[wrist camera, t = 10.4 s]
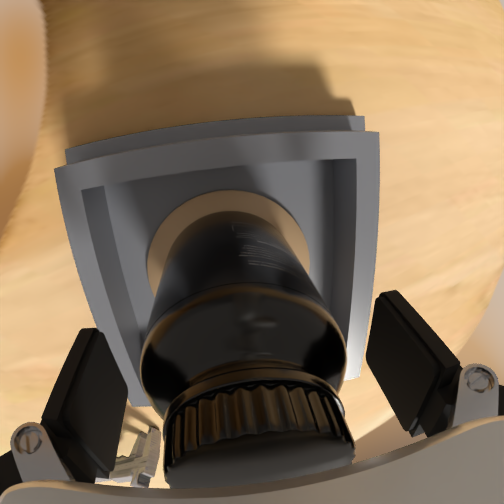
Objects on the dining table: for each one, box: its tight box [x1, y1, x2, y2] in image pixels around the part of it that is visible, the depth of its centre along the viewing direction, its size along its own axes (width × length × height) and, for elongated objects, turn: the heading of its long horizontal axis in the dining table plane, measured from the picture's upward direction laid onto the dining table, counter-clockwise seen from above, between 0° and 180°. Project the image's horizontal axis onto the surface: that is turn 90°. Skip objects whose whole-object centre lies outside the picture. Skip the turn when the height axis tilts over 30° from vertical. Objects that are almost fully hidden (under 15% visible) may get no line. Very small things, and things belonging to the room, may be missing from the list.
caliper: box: [95, 426, 161, 488], centre depth 23 cm, size 20×1×6 cm, turn 134°
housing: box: [54, 115, 380, 407], centre depth 16 cm, size 16×16×4 cm
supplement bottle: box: [140, 211, 355, 489], centre depth 12 cm, size 7×7×12 cm
